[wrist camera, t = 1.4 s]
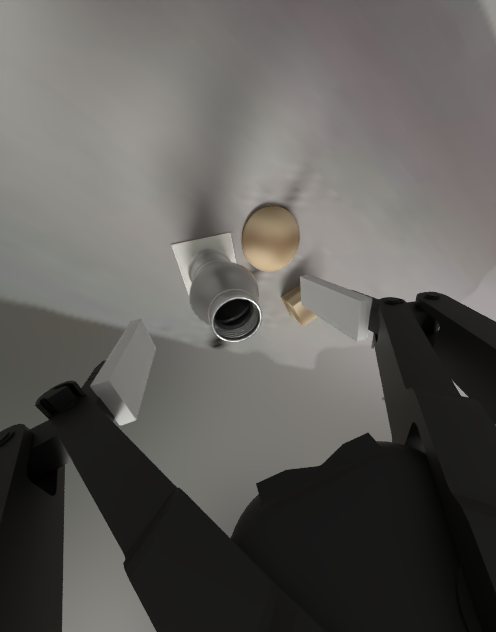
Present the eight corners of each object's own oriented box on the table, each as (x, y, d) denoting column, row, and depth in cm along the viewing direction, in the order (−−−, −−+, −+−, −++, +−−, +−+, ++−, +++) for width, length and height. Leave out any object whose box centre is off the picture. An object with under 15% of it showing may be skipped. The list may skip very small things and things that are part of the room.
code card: (171, 244, 28) (171, 244, 28) (230, 232, 30) (230, 232, 30) (190, 300, 32) (190, 300, 32) (241, 287, 34) (241, 287, 34)
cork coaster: (236, 212, 29) (237, 212, 28) (296, 201, 30) (298, 200, 30) (247, 276, 33) (248, 277, 33) (299, 263, 35) (300, 264, 34)
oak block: (280, 296, 37) (293, 306, 33) (302, 282, 37) (317, 289, 33) (290, 315, 39) (303, 326, 35) (310, 302, 39) (325, 311, 35)
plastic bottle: (180, 254, 29) (169, 295, 11) (223, 241, 30) (272, 260, 12) (196, 292, 32) (206, 371, 14) (234, 279, 33) (287, 339, 15)
